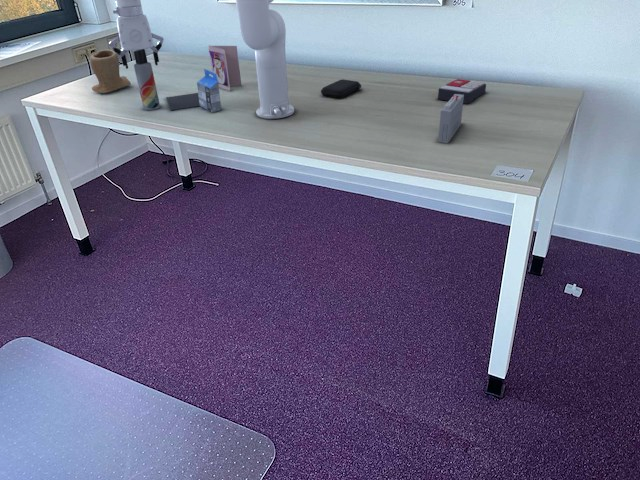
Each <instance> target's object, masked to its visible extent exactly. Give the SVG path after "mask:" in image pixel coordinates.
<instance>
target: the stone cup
mask: <svg viewBox="0 0 640 480" xmlns="http://www.w3.org/2000/svg"><path fill="white" fill-rule="evenodd" d="M118 56H119V55H118V54H117V53H116V52H115V51H114V50H113V49H100V50H97V51H95V52H94V53H92V54H91V55H90V56H89V63H90V67H91V70H92V73H93V74H94V75H95V77H96V79H97V81H98V83H97V84H95V85H93V86H92V87H91V90H92V91H93V92H95V93H99V94H106V93H110V92H114V91H117V90H120V89H123V88H125V87H128V86H131V81H130V80H129V79H128V77H127V76H126V75H122V76H120V59H119V57H118Z"/></svg>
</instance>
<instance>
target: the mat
mask: <svg viewBox="0 0 640 480" xmlns="http://www.w3.org/2000/svg"><path fill="white" fill-rule="evenodd" d="M166 100H167V103H168V105H169V108H170V112H173V111H181V110H182V111H183V110H188V109H194V108H202V107H201V106H200V104H199V96H198V92H195V93H188V94H181V95H173V96H167V97H166Z"/></svg>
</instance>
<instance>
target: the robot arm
mask: <svg viewBox="0 0 640 480" xmlns="http://www.w3.org/2000/svg"><path fill="white" fill-rule="evenodd" d="M274 1H275V0H235V5H236V11H237V12H236V13H237V18H238V23H239V24H238V25H239V30H240V34H241V37H242V40H243V42H244V43H245V44H246V46H247V47H248V48H250V49H252V50H254V56H255V57H254V58H255V69H256V70H255V71H256V78H257V88H258V96H259V97H258V98H259V105H260V106H259V107H258V108H257V109H256V111H255V112H256V116H257V117H258V118H260V119H261V118H262V119H265V120H266V119H268V120H276V119H283V118H287V117H290V116H292V115H293V114H294V113H295V107H294V106H293V105H292V104H290V97H289V84H288V83H289V82H288V71H287V57H286V55H287V54H286V35H287V34H286V32H287V31H286V30H287V29H286V23H285V20H284V18H283V16H282V15H281V13H279V12H278V11H276V10H274V9H270V6H269V5H270V4H271V3H273V2H274ZM115 6H116V7H115V8H112V13H113V14H116V15H118V16H117V17H116V24H117V25H116V26H117V33H118V36H116V37H115V38H114V39H112V40H111V41H109V42H108V45H109V47H110V48H111V50H113V51H114V52H116V54H117V55H118V56H120V58H121V62H122V65H123V67H125V69H126V70H127V69H129V65H128V61H127V55H126V52H128V51H135V50H139V49H145V50H146V49H150V50H152V57H153V60H154V61H153V62H154V65H155V66H158V63H160V58H159V54H158V53H159V51H160V50H161V48H162V46H163V43H164V41H165V40H164V37H163V36H161V35H158V34H156V33H153V32H152V30H151V27H150V23H149V20H148V17H147V15H146V14H145V13H144V11H143V6H142V1H141V0H115ZM154 40H157V41H158V42H157V44H156V46H155V45H154ZM118 43H119V44H120V46H121V49H120V48H118V47H117V46H116V44H118Z"/></svg>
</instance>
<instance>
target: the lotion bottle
mask: <svg viewBox="0 0 640 480" xmlns="http://www.w3.org/2000/svg"><path fill="white" fill-rule="evenodd" d="M132 51H133V56H134V60H135V63H134V64H133V69H134V74H135V78H136V82H137V86H138V90H139V95H140V99H141V103H142V107H143V109H144V111H145V110H146V111H153V110H158V109H159V108H160V107H161V105H160V98H159V94H158V90H157V84H156V81H155V76H154V72H153V66H152V63H151V62H150V61H148V57H147V51H146V49H139V50H132Z"/></svg>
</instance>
